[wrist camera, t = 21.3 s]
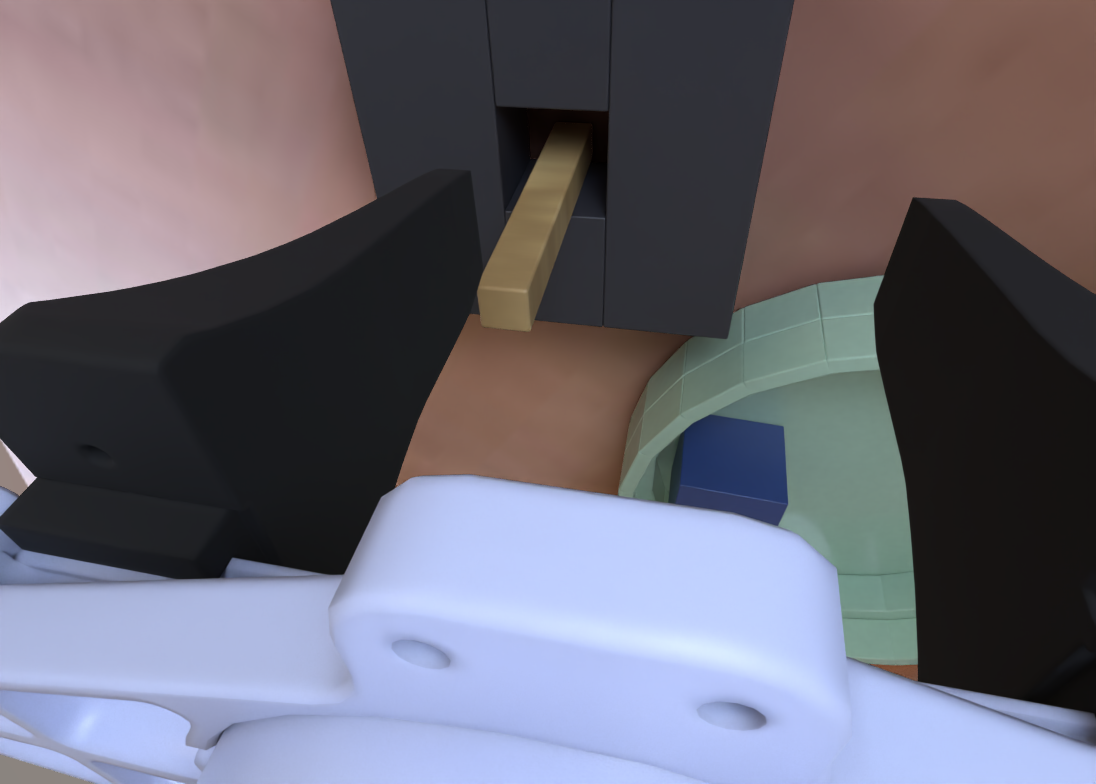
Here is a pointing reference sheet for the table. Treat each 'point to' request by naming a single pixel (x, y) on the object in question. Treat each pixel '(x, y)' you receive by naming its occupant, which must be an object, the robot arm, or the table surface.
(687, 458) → the block
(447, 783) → the robot arm
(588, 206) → the stand
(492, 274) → the stick
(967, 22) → the table surface
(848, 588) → the bowl
